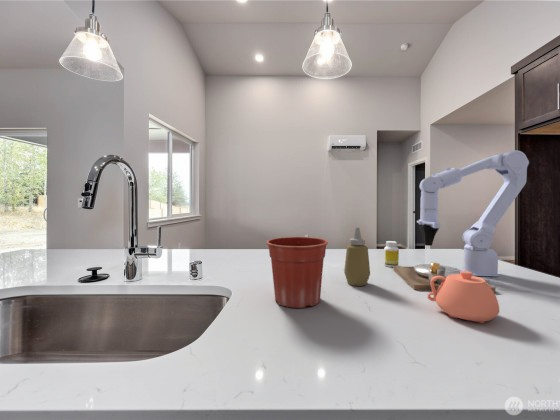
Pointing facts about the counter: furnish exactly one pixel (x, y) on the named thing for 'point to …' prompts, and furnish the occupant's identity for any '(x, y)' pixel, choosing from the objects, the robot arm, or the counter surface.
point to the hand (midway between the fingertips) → (428, 245)
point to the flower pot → (297, 270)
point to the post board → (421, 278)
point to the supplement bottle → (391, 254)
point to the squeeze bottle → (357, 261)
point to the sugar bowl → (465, 297)
